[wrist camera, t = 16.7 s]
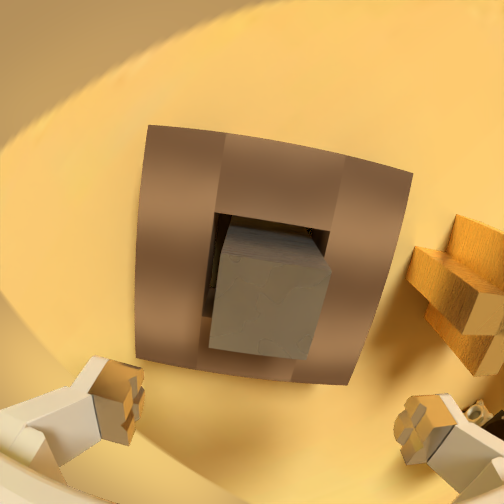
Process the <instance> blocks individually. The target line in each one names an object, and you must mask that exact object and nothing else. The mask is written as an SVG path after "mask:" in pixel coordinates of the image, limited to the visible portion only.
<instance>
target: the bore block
mask: <svg viewBox="0 0 504 504" xmlns="http://www.w3.org/2000/svg"><path fill="white" fill-rule="evenodd" d="M412 177H413V173H411V172H407V171H404V170H400V169H397V168H393V167H390V166H386V165H382V164H379V163H375V162H371V161H367V160H363V159H359V158H355V157H351V156H347V155H343V154H338V153H334V152H330V151H325V150H320V149H316V148H311V147H306V146H301V145H296V144H291V143H285V142H280V141H274V140H269V139H263V138H257V137H250V136H244V135H237V134H230V133H223V132H215V131H207V130H199V129H190V128H180V127H169V126H157V125H148V130H147V137H146V145H145V152H144V160H143V169H142V178H141V188H140V199H139V211H138V225H137V242H136V264H135V349H136V358H139V359H144V360H148V361H153V362H158V363H163V364H168V365H173V366H178V367H183V368H189V369H195V370H200V371H207V372H213V373H219V374H226V375H233V376H241V377H249V378H257V379H266V380H275V381H286V382H297V383H311V384H327V385H348V383H349V380H350V378H351V375H352V373H353V371H354V368H355V366H356V363H357V361H358V358H359V356H360V353H361V351H362V348H363V346H364V343H365V340H366V338H367V335H368V332H369V330H370V327H371V324H372V321H373V318H374V316H375V313H376V310H377V307H378V304H379V301H380V298H381V295H382V292H383V289H384V286H385V282H386V279H387V276H388V273H389V269H390V266H391V263H392V259H393V256H394V252H395V249H396V245H397V241H398V237H399V234H400V230H401V226H402V222H403V218H404V214H405V209H406V205H407V201H408V196H409V192H410V187H411V182H412ZM220 213H223V214H230V215H236V216H243V217H249V218H255V219H262V220H268V221H274V222H280V223H286V224H292V225H298V226H303V227H309V228H313V232H312V236H311V238H312V240H313V241H314V243H315V244H316V246H317V248H318V249H319V251H320V252H321V254H322V256H323V257H324V259H325V260H326V262H327V264H328V265H329V267H330V269H331V270H332V273H331V277H330V280H329V284H328V288H327V291H326V295H325V299H324V302H323V306H322V309H321V313H320V316H319V320H318V323H317V326H316V330H315V333H314V336H313V340H312V343H311V346H310V349H309V353H308V356H307V359H306V360H299V359H289V358H280V357H271V356H263V355H255V354H248V353H240V352H233V351H227V350H220V349H214V348H209V340H210V331H211V323H212V316H213V308H214V300H215V293H216V288H210V283H211V275H212V267H213V260H214V252H215V244H216V237H217V230H218V223H219V216H220Z"/></svg>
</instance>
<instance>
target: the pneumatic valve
mask: <svg viewBox="0 0 504 504" xmlns="http://www.w3.org/2000/svg"><path fill="white" fill-rule="evenodd" d="M463 414H464V416H465V417H466V419H467V420H468V422H469V423H474V424H476V425H477V426H479V427H481V428H482V429H484V430H486V431H487V432H489V433H491V434H492V435H494V436H496V437H497V438H499V439H501V440H502V441H504V411H503V410H501V411H500V412H499V413H497V414H496V415H495V416H494V417H493V414H492V413H489V412H488V410H487V408H486V407H485V405H484V402H483V400H478V401H477V402H476V404H474V405H473V406H471V407H470V408H469V409H468V410H467V411H466V412H465V413H463Z"/></svg>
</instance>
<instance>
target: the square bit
mask: <svg viewBox="0 0 504 504" xmlns="http://www.w3.org/2000/svg"><path fill="white" fill-rule="evenodd" d="M331 273H332V270H331V269H330V267H329V265H328V264H327V262H326V260H325V259H324V257H323V256H322V254H321V252H320V251H319V249H318V248H317V246H316V244H315V243H314V241H313V240H312V238H311V237H310V235H309V233H308V232H307V230H306V229H305V227H303V226H298V225H292V224H286V223H280V222H274V221H268V220H262V219H255V218H249V217H243V216H236V215H232V218H231V221H230V225H229V228H228V231H227V235H226V238H225V241H224V245H223V248H222V251H221V256H220V263H219V270H218V278H217V285H216V293H215V300H214V308H213V316H212V323H211V331H210V340H209V348H214V349H220V350H227V351H233V352H240V353H248V354H255V355H263V356H271V357H280V358H289V359H299V360H306V359H307V356H308V353H309V349H310V346H311V343H312V340H313V336H314V333H315V330H316V326H317V323H318V320H319V316H320V313H321V309H322V306H323V302H324V299H325V295H326V291H327V288H328V284H329V280H330V277H331Z"/></svg>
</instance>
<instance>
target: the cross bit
mask: <svg viewBox="0 0 504 504" xmlns="http://www.w3.org/2000/svg"><path fill="white" fill-rule="evenodd" d="M406 279H407V280H408V281H409V282H410V283H411V284H412V285H413V286H414V287H415V288H416V289H417V290H418V291H419V292H420V293H421V294H422V295H423V296H424V297H425V298H426V299H427V300H428V301H429V305H428V307H427V310H426V312H425V315H424V318H425V319H426V321H427V322H428V323H429V324H430V325H431V326H432V327H433V329H434V330H435V331H436V332H437V333H438V334H439V335H440V337H441V338H442V339H443V340H444V341H445V342H446V344H447V345H448V346H449V347H450V348H451V350H452V351H453V352H454V353H455V354H456V356H457V357H458V358H459V359H460V360H461V362H462V363H463V364H464V365H465V367H466V368H467V369H468V370H469V371H470V373H471V374H472V375H473V376H474V377H477V376H488V375H497V374H498V372H499V370H500V368H501V366H502V365H503V363H504V232H503V231H501V230H498V229H496V228H494V227H491V226H489V225H487V224H484V223H482V222H480V221H477V220H474V219H471V218H467V217H464V216H461V215H458V214H456V218H455V222H454V226H453V229H452V233H451V237H450V240H449V244H448V247H447V251H446V252H442V251H437V250H432V249H427V248H422V247H418V246H415V248H414V252H413V255H412V259H411V262H410V265H409V268H408V272H407V275H406Z"/></svg>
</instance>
